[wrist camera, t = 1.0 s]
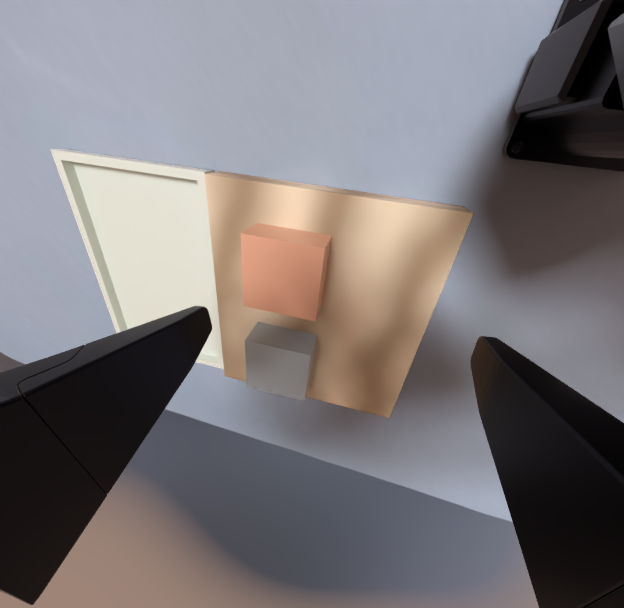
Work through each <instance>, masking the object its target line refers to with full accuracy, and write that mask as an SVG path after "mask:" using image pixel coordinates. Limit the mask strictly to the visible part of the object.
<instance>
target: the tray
mask: <svg viewBox="0 0 624 608" xmlns="http://www.w3.org/2000/svg"><path fill="white" fill-rule="evenodd" d="M51 152H52V155H53V158H54V160H55V163H56V166H57V169H58V172H59V174H60V177H61V180H62V183H63V185H64V188H65V191H66V194H67V196H68V199H69V202H70V205H71V208H72V210H73V213H74V216H75V219H76V221H77V224H78V227H79V230H80V233H81V235H82V238H83V241H84V244H85V246H86V249H87V252H88V255H89V258H90V260H91V263H92V266H93V269H94V271H95V274H96V277H97V280H98V283H99V285H100V288H101V291H102V294H103V296H104V299H105V302H106V305H107V307H108V310H109V313H110V316H111V319H112V321H113V324H114V327H115V330H116V332H117V333H119V332H122V331H125V330H128V329H130V328H133V327H136V326H139V325H142V324H145V323H147V322H150V321H153V320H156V319H159V318H161V317H164V316H167V315H170V314H173V313H176V312H178V311H181V310H184V309H187V308H190V307H193V306H204V307H206V308H207V309H208V312H209V315H210V319H211V323H212V331H211V333H210V335H209V337H208V339H207V341H206V343H205V345H204V347H203V348H202V350H201V352H200V354H199V356H198V358H197V360H196V362H198V363H202V364H206V365H210V366H214V367H218V368H222V369H224V364H223V354H222V344H221V334H220V324H219V314H218V304H217V294H216V284H215V274H214V264H213V254H212V244H211V234H210V224H209V213H208V203H207V193H206V183H205V174H207V173H214V170H207V169H200V168H194V167H187V166H180V165H173V164H166V163H159V162H152V161H145V160H138V159H131V158H124V157H118V156H111V155H104V154H97V153H90V152H83V151H76V150H69V149H51Z"/></svg>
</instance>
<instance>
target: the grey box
mask: <svg viewBox="0 0 624 608" xmlns="http://www.w3.org/2000/svg"><path fill="white" fill-rule="evenodd" d="M317 336H318V335H316V334H312V333H307V332H303V331H298V330H294V329H289V328H285V327H280V326H276V325H271V324H267V323H262V322H257V324H256V325H255V327H254V328H253V329H252V331H251V332H250V334H249V335H248V336H247V338H246V339H245V358H246V384H247V387H250V388H254V389H258V390H262V391H266V392H270V393H273V394H277V395H281V396H285V397H289V398H293V399H297V400H301V401H305V398H306V395H307V391H308V388H309V385H310V382H311V377H312V371H313V364H314V357H315V350H316V343H317Z"/></svg>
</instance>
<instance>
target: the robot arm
mask: <svg viewBox="0 0 624 608" xmlns="http://www.w3.org/2000/svg"><path fill="white" fill-rule="evenodd" d="M515 111H516V113H518V114H517V117H516V119H515V121H514V124H513V126H512V129H511V131H510V133H509V136H508V138H507V141H506V143H505V145H504V149H503V152H504V155H505V156H506V157H508V158H513V159H521V160H530V161H538V162H547V163H555V164H563V165H572V166H580V167H589V168H597V169H605V170H614V171H622V172H624V0H584V1H582V2H581V1H579V0H565V2H564V4H563V6H562V9H561V11H560V14H559V16H558V18H557V21H556V23H555V25H554V28H553V30H552V33H551V34H550V35H548V36H547V37H546V38H545V39H543V40H542V41H541V43H540V45H539V48H538V50H537V53H536V55H535V58H534V60H533V63H532V65H531V68H530V70H529V73H528V75H527V77H526V80H525V82H524V85H523V87H522V90H521V92H520V95H519V97H518V100H517V102H516V104H515ZM516 142H518V143H519V144H520V148H519V149H518V151H516V152H515V153H513V152H512V146H513V145H514V144H515V143H516ZM211 331H212V323H211V319H210V315H209V312H208V309H207V308H206V307H204V306H193V307H190V308H187V309H184V310H181V311H178V312H176V313H173V314H170V315H167V316H164V317H161V318H159V319H156V320H153V321H150V322H147V323H145V324H142V325H139V326H136V327H133V328H130V329H128V330H125V331H122V332H119V333H116V334H113V335H111V336H108V337H105V338H102V339H99V340H96V341H94V342H91V343H88V344H86V345H82V346H79V347H77V348H74V349H71V350H68V351H65V352H62V353H59V354H56V355H53V356H51V357H48V358H44V359H41V360H38V361H35V362H32V363H29V364H26V365H23V366H20V367H16V368H13V369H10V370H7V371H4V372H0V591H1V592H3V593H5V594H8V595H10V596H12V597H14V598H17V599H19V600H21V601H23V602H26V603H28V604H30V605H33V604H34V603H35V602H36V600H37V599H38V598H39V596H40V595H41V594H42V592H43V591H44V589H45V588H46V586H47V585H48V583H49V582H50V580H51V579H52V577H53V576H54V574H55V573H56V571H57V570H58V568H59V567H60V565H61V564H62V562H63V561H64V559H65V558H66V556H67V555H68V553H69V552H70V550H71V549H72V547H73V546H74V544H75V543H76V541H77V540H78V538H79V537H80V535H81V534H82V532H83V531H84V529H85V528H86V526H87V525H88V523H89V522H90V520H91V519H92V517H93V516H94V514H95V513H96V511H97V510H98V508H99V507H100V505H101V504H102V502H103V501H104V499H105V497H106V496H107V494H108V493H109V491H110V490H111V488H112V487H113V485H114V484H115V482H116V481H117V479H118V478H119V476H120V475H121V473H122V472H123V470H124V469H125V467H126V466H127V464H128V463H129V461H130V460H131V458H132V457H133V455H134V454H135V452H136V451H137V449H138V448H139V446H140V445H141V443H142V442H143V440H144V439H145V437H146V436H147V434H148V433H149V431H150V430H151V428H152V427H153V425H154V424H155V422H156V421H157V419H158V418H159V416H160V415H161V413H162V412H163V410H164V409H165V407H166V406H167V404H168V403H169V401H170V400H171V398H172V397H173V395H174V394H175V392H176V391H177V389H178V388H179V386H180V385H181V383H182V382H183V380H184V379H185V377H186V376H187V374H188V373H189V371H190V370H191V368H192V367H193V365H194V363H195V362H196V360H197V358H198V356H199V354H200V352H201V350H202V348H203V347H204V345H205V343H206V341H207V339H208V337H209V335H210V333H211ZM471 369H472V375H473V381H474V387H475V392H476V398H477V404H478V409H479V413H480V417H481V420H482V423H483V427H484V430H485V433H486V436H487V440H488V443H489V446H490V449H491V453H492V456H493V459H494V462H495V466H496V469H497V472H498V475H499V479H500V482H501V485H502V488H503V492H504V495H505V498H506V501H507V505H508V508H509V511H510V514H511V518H512V521H513V524H514V527H515V530H516V534H517V537H518V540H519V544H520V547H521V550H522V553H523V556H524V560H525V563H526V566H527V569H528V573H529V576H530V579H531V582H532V585H533V589H534V592H535V595H536V598H537V602H538V605H539V608H624V423H623V422H621V421H620V420H618V419H617V418H615V417H614V416H612V415H611V414H609V413H608V412H606V411H605V410H604V409H602V408H601V407H599V406H598V405H596V404H595V403H593V402H592V401H590V400H589V399H587V398H586V397H584V396H583V395H581V394H580V393H578V392H577V391H575V390H574V389H572V388H571V387H569V386H568V385H566V384H565V383H563V382H562V381H560V380H559V379H557V378H556V377H554V376H553V375H551V374H550V373H548V372H547V371H545V370H544V369H542V368H541V367H539V366H538V365H536V364H535V363H533V362H532V361H530V360H529V359H527V358H526V357H524V356H523V355H521V354H520V353H518V352H517V351H515V350H514V349H512V348H511V347H509V346H508V345H506V344H505V343H503V342H502V341H500V340H499V339H497V338H495V337H486V336H481V337H479V339H478V340H477V343H476V346H475V348H474V351H473V354H472V357H471Z"/></svg>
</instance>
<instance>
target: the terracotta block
mask: <svg viewBox="0 0 624 608" xmlns="http://www.w3.org/2000/svg"><path fill="white" fill-rule="evenodd" d="M331 239H332V236H331V235H326V234H320V233H314V232H308V231H302V230H296V229H290V228H284V227H278V226H273V225H267V224H261V223H257V224H255V225H253V226H252V227H250V228H248V229H247V230H245V231H243V232H242V233H241V257H242V282H243V306H246V307H250V308H255V309H260V310H264V311H269V312H274V313H278V314H283V315H287V316H292V317H297V318H301V319H306V320H311V321H316V318H317V315H318V313H319V310H320V308H321V305H322V302H323V295H324V288H325V281H326V274H327V267H328V260H329V253H330V246H331Z"/></svg>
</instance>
